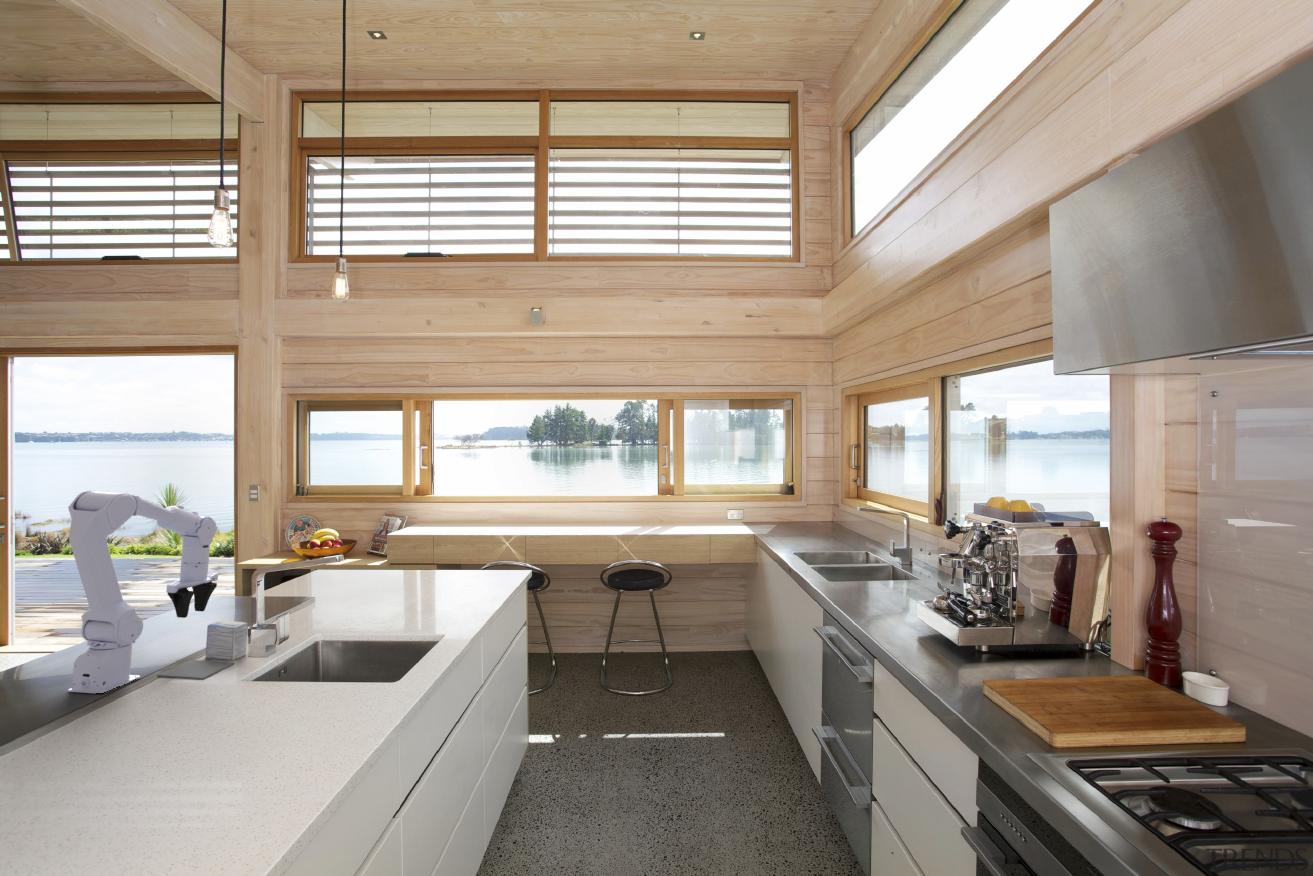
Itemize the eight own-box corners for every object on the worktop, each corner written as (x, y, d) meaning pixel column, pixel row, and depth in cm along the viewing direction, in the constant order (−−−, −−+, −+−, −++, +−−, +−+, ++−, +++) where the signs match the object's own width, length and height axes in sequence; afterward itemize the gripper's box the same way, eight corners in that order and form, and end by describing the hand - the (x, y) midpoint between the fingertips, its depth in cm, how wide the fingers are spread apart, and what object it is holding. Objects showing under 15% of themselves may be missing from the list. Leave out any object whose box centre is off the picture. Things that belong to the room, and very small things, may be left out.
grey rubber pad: (203, 679, 139) (203, 677, 139) (157, 676, 140) (157, 674, 140) (234, 664, 149) (234, 662, 149) (191, 661, 150) (191, 659, 150)
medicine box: (246, 655, 156) (248, 622, 156) (232, 661, 151) (235, 627, 152) (218, 652, 157) (221, 619, 157) (204, 658, 152) (206, 624, 152)
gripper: (187, 568, 147) (183, 623, 147) (230, 557, 162) (226, 607, 161) (159, 566, 147) (155, 621, 147) (205, 556, 162) (201, 606, 162)
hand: (191, 614), depth 154 cm, fingers open, 5 cm apart
